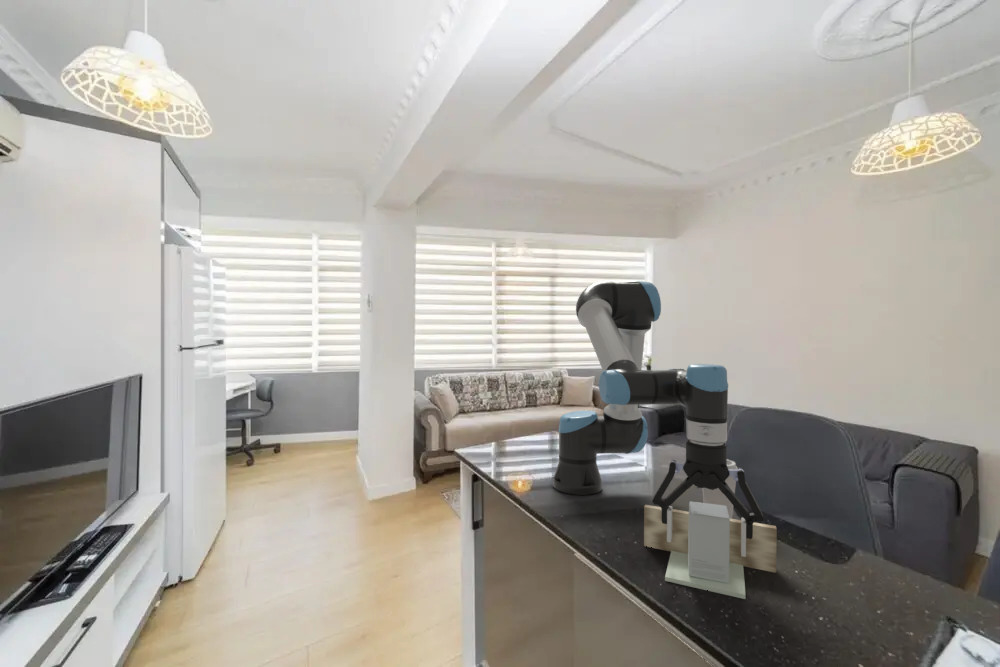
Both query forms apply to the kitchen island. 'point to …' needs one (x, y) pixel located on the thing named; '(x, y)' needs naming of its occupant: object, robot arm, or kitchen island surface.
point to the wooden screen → (757, 548)
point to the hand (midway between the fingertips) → (705, 546)
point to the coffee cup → (717, 495)
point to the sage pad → (680, 575)
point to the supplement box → (708, 541)
